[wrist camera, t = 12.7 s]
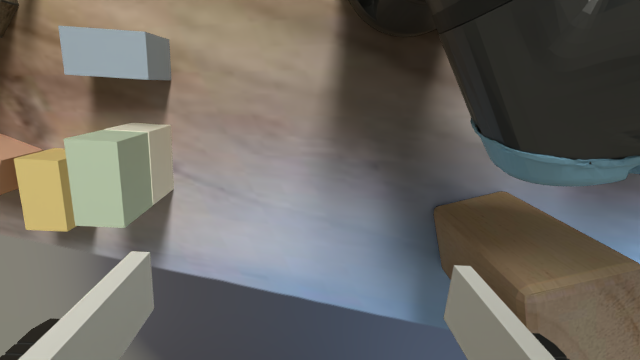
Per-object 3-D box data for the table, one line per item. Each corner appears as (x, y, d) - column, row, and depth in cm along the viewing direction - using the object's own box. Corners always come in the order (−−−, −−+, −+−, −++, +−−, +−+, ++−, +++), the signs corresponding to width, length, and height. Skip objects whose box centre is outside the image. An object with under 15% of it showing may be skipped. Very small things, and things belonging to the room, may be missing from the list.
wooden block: (440, 270, 48) (531, 396, 28) (429, 205, 45) (522, 295, 26) (510, 254, 47) (650, 370, 28) (504, 187, 45) (654, 265, 25)
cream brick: (133, 122, 41) (104, 128, 35) (171, 125, 41) (148, 131, 35) (137, 186, 43) (111, 202, 37) (173, 188, 43) (153, 205, 37)
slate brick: (100, 75, 39) (64, 74, 33) (96, 34, 38) (58, 25, 32) (171, 80, 40) (148, 79, 34) (169, 39, 38) (145, 31, 33)
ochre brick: (54, 148, 41) (13, 158, 35) (92, 150, 41) (57, 161, 36) (63, 210, 43) (26, 229, 38) (99, 212, 44) (67, 231, 38)
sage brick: (103, 129, 35) (63, 138, 29) (147, 132, 35) (116, 141, 29) (111, 203, 37) (75, 225, 31) (152, 205, 37) (124, 227, 31)
